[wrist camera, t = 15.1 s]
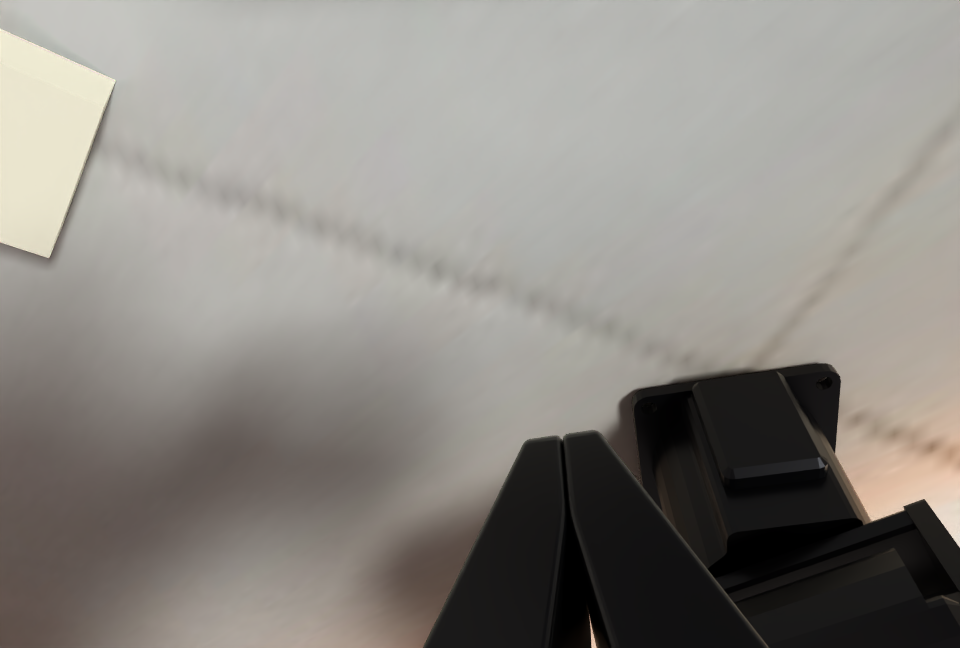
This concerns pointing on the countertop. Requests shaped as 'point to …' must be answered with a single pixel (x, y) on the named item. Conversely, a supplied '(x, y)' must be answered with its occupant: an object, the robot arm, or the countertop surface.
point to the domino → (43, 139)
